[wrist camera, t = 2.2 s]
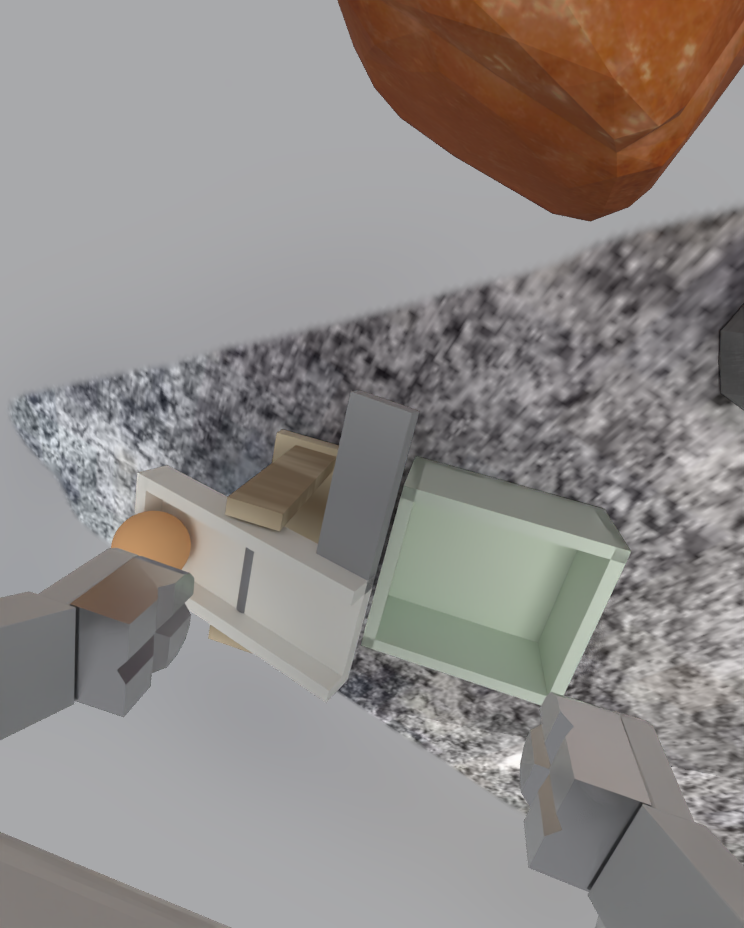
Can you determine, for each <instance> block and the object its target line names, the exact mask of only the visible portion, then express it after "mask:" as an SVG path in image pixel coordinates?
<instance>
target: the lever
mask: <svg viewBox="0 0 744 928" xmlns="http://www.w3.org/2000/svg"><path fill="white" fill-rule="evenodd" d="M418 415H419V411H418V410H415V409H412V408H409V407H407V406H404V405H401V404H398V403H395V402H392V401H389V400H387V399H384V398H381V397H378V396H375V395H372V394H369V393H367V392H364V391H361V390H358V391H351V392H350V397H349V401H348V406H347V411H346V415H345V420H344V425H343V429H342V434H341V439H340V443H339V448H338V453H337V457H336V462H335V467H334V471H333V476H332V481H331V486H330V490H329V495H328V500H327V504H326V509H325V514H324V518H323V523H322V528H321V532H320V537H319V542H318V544H317V543H315V542H313V541H311V540H310V539H308V538H306V537H304V536H302V535H300V534H298V533H296V532H294V531H292V530H290V529H288V528H287V527H285V526H284V527H283V528H282V529H281V531H277V530H273V529H270V528H267V527H264V526H261V525H257V524H254V523H251V522H248V521H245V520H241V519H238V518H235V517H232V516H228V515H225V511H226V504H227V496H225V495H223V494H221V493H219V492H217V491H216V490H214V489H212V488H210V487H208V486H206V485H204V484H202V483H200V482H198V481H196V480H194V479H193V478H191V477H189V476H187V475H185V474H183V473H181V472H179V471H177V470H175V469H173V468H171V467H170V466H168V465H166V466H162V467H158V468H154V469H150V470H146V471H141V472H137V486H136V502H135V515H136V514H138V513H142V512H145V511H162V512H166V513H169V514H171V515H173V516H175V517H176V518H178V519H179V520H180V521H181V522H182V523H183V524H184V526H185V527H186V529H187V530H188V533H189V536H190V540H191V550H190V555H189V558H188V560H187V562H186V564H185V565H184V567H183V568H182V569H181V570H183V571H186V572H189V573H191V574H192V576H193V577H194V591H193V595H192V596H191V597H190V598H189V599H188V600H187V601H186V602H185V604H186V606H187V608H188V610H190V611H191V612H193V613H194V614H196V615H197V616H199V617H200V618H202V619H203V620H204V621H206V622H207V623H209V624H210V625H212V626H213V627H215V628H216V629H218V630H219V631H221V632H222V633H224V634H225V635H227V636H228V637H229V638H231V639H232V640H234V641H235V642H237V643H238V644H240V645H241V646H243V647H244V648H246V649H247V650H249V651H250V652H252V653H253V654H255V655H256V656H258V657H259V658H261V659H262V660H263V661H265V662H266V663H268V664H269V665H271V666H272V667H274V668H275V669H277V670H278V671H280V672H281V673H283V674H284V675H286V676H287V677H288V678H290V679H291V680H293V681H294V682H296V683H297V684H299V685H300V686H302V687H303V688H305V689H306V690H308V691H309V692H311V693H312V694H314V695H315V696H317V697H318V698H319V699H321V700H323V701H324V702H325V703H327V702H328V700H330V698H331V697H332V696H333V695H334V694H335V693H336V692H337V691H338V690H339V689H340V688H341V686H342V685H343V684H344V683H345V682H346V681H347V680H348V677H349V673H350V669H351V666H352V662H353V658H354V654H355V651H356V647H357V643H358V639H359V636H360V632H361V628H362V624H363V621H364V617H365V613H366V610H367V606H368V602H369V598H370V595H371V591H372V587H373V583H374V580H375V576H376V572H377V568H378V565H379V561H380V557H381V553H382V550H383V546H384V542H385V538H386V535H387V531H388V527H389V524H390V520H391V516H392V512H393V509H394V505H395V501H396V497H397V494H398V490H399V486H400V482H401V479H402V475H403V471H404V467H405V464H406V460H407V456H408V452H409V449H410V445H411V441H412V438H413V434H414V430H415V426H416V423H417V419H418Z"/></svg>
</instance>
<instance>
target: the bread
mask: <svg viewBox="0 0 744 928" xmlns="http://www.w3.org/2000/svg"><path fill="white" fill-rule="evenodd" d="M338 3H339V6H340V8H341V11H342V14H343V17H344V20H345V23H346V26H347V29H348V31H349V34H350V37H351V40H352V43H353V46H354V48H355V50H356V52H357V54H358V56H359V58H360V60H361V62H362V64H363V66H364V68H365V70H366V72H367V74H368V76H369V78H370V80H371V82H372V84H373V86H374V88H375V89H376V90H377V91H378V92H379V93H380V95H381V96H382V97H383V98H384V99H385V100H386V102H387V103H388V104H389V105H390V106H391V107H392V109H393V110H394V111H395V112H396V113H397V114H398V116H399V117H400V118H402V119H403V120H404V121H406V122H407V123H408V124H410V125H411V126H413V127H414V128H416V129H417V130H418V131H420V132H421V133H422V134H424V135H425V136H427V137H428V138H429V139H431V140H432V141H434V142H435V143H436V144H438V145H439V146H440V147H442V148H443V149H445V150H446V151H448V152H449V153H450V154H452V155H453V156H455V157H456V158H458V159H460V160H462V161H463V162H465V163H467V164H468V165H470V166H472V167H474V168H475V169H477V170H479V171H480V172H482V173H484V174H486V175H487V176H489V177H491V178H493V179H494V180H496V181H498V182H499V183H501V184H503V185H504V186H506V187H508V188H510V189H511V190H513V191H515V192H516V193H518V194H520V195H521V196H523V197H525V198H527V199H528V200H530V201H532V202H534V203H535V204H537V205H539V206H540V207H542V208H544V209H546V210H547V211H549V212H551V213H552V214H557V215H562V216H567V217H572V218H576V219H581V220H586V221H593V220H595V219H598V218H601V217H603V216H606V215H609V214H612V213H614V212H617V211H620V210H622V209H625V208H628V207H629V206H631V205H632V204H633V203H634V202H635V201H637V200H638V199H639V198H640V197H641V196H642V195H644V194H645V193H646V192H647V191H648V190H650V189H651V188H652V186H653V185H654V184H655V182H656V181H657V180H658V178H659V177H660V176H661V175H662V173H663V172H664V171H665V169H666V168H667V167H668V165H669V164H670V163H671V161H672V160H673V159H674V158H675V156H676V155H677V153H678V152H679V151H680V150H681V148H682V147H683V146H684V144H685V143H686V142H687V140H688V139H689V138H690V137H691V135H692V134H693V133H694V131H695V130H696V129H697V127H698V126H699V125H700V123H701V122H702V121H703V119H704V118H705V117H706V116H707V114H708V113H709V111H710V110H711V109H712V107H713V106H714V105H715V103H716V102H717V101H718V99H719V98H720V96H721V95H722V94H723V92H724V91H725V90H726V88H727V87H728V86H729V84H730V83H731V81H732V80H733V79H734V77H735V76H736V74H737V73H738V72H739V70H740V69H741V68H742V66H743V65H744V0H338Z"/></svg>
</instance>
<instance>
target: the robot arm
mask: <svg viewBox="0 0 744 928" xmlns="http://www.w3.org/2000/svg"><path fill="white" fill-rule="evenodd" d="M193 591H194V577H193V576H192V574H191V573H189V572H186V571H183V570H180V569H177V568H174V567H172V566H169V565H166V564H163V563H160V562H157V561H155V560H152V559H149V558H146V557H143V556H139V555H137V554H134V553H131V552H128V551H125V550H122V549H119V548H109V549H107V550H105V551H104V552H102V553H101V554H99V555H98V556H96V557H94V558H93V559H91V560H90V561H88V562H87V563H85V564H84V565H82V566H81V567H79V568H78V569H76V570H75V571H73V572H71V573H70V574H68V575H67V576H65V577H64V578H62V579H60V580H59V581H57V582H56V583H54V584H53V585H51V586H50V587H48V588H47V589H45V590H43V591H42V592H41V593H39V594H35V593H32V592H24V593H20V594H15V595H11V596H6V597H1V598H0V740H2V739H4V738H6V737H8V736H10V735H11V734H14V733H16V732H18V731H20V730H22V729H24V728H26V727H28V726H30V725H32V724H34V723H36V722H38V721H40V720H42V719H44V718H47V717H49V716H50V715H53V714H55V713H57V712H59V711H61V710H63V709H65V708H67V707H69V706H71V705H73V704H74V701H77V702H80V703H83V704H86V705H89V706H92V707H95V708H98V709H101V710H104V711H107V712H110V713H113V714H116V715H119V716H122V717H124V716H125V715H126V714H127V713H128V712H129V711H130V709H131V708H132V707H133V706H134V705H135V704H136V703H137V701H138V700H139V699H140V698H141V697H142V696H143V694H144V693H145V692H146V691H147V690H148V689H149V688H150V686H151V676H152V673H154V672H156V671H159V670H161V669H164V668H166V667H167V666H168V665H169V664H170V663H171V662H172V661H173V659H174V658H175V657H176V655H177V654H178V652H179V650H180V648H181V646H182V645H183V643H184V641H185V639H186V635H187V633H188V629H189V625H190V617H191V614H190V612H189V610H188V608H187V606H186V604H185V602H186V601H187V600H188V599H189V598H190V597H191V596H192V595H193ZM540 716H541V722H542V724H541V725H539V726H537V727H535V728H533V729H531V730H530V732H529V734H528V737H527V739H526V742H525V744H524V748H523V753H522V758H521V763H520V785H521V793H522V795H523V796H524V798H525V799H526V801H527V803H528V804H529V806H530V809H529V811H528V813H527V815H526V817H525V819H524V828H525V838H526V847H527V857H528V867H529V868H531V869H533V870H536V871H538V872H541V873H543V874H546V875H548V876H550V877H553V878H555V879H558V880H560V881H563V882H565V883H568V884H570V885H573V886H575V887H578V888H580V889H583V890H585V891H588V892H589V893H588V897H589V899H590V900H591V902H592V904H593V906H594V908H595V909H596V911H597V913H598V915H599V916H598V919H597V923H596V927H595V928H744V866H743V865H742V864H741V863H740V862H739V861H738V860H737V859H736V858H735V856H734V855H733V854H732V853H731V852H730V851H729V850H728V849H727V848H726V847H725V846H724V845H723V844H722V843H721V842H720V841H719V839H718V838H717V837H716V836H715V835H714V834H713V833H712V832H711V831H710V830H709V829H708V828H707V827H706V826H704V825H702V824H699V823H696V822H694V820H693V817H692V815H691V813H690V810H689V808H688V806H687V804H686V801H685V799H684V797H683V794H682V792H681V790H680V787H679V785H678V783H677V780H676V778H675V776H674V773H673V771H672V769H671V766H670V764H669V762H668V760H667V757H666V755H665V753H664V750H663V748H662V746H661V743H660V741H659V739H658V736H657V734H656V732H655V729H654V728H653V726H652V725H651V724H650V723H649V722H648V721H646V720H643V719H639V718H636V717H633V716H629V715H626V714H623V713H619V712H616V711H614V712H612V711H610V710H607V709H603V708H600V707H597V706H594V705H591V704H588V703H585V702H582V701H579V700H575V699H572V698H569V697H566V696H563V695H560V694H557V693H554V692H550V693H549V694H548V695H547V696H546V697H545V699H544V701H543V703H542V705H541V707H540ZM0 928H231V927H228V926H226V925H224V924H221V923H218V922H216V921H214V920H211V919H209V918H207V917H204V916H202V915H199V914H197V913H194V912H192V911H190V910H187V909H185V908H182V907H180V906H177V905H175V904H172V903H170V902H168V901H165V900H163V899H161V898H158V897H156V896H153V895H151V894H149V893H146V892H144V891H141V890H139V889H136V888H134V887H132V886H129V885H127V884H124V883H122V882H120V881H117V880H115V879H112V878H110V877H107V876H105V875H103V874H100V873H98V872H95V871H93V870H90V869H88V868H86V867H83V866H81V865H78V864H76V863H74V862H71V861H69V860H66V859H64V858H62V857H59V856H57V855H54V854H52V853H50V852H47V851H45V850H42V849H40V848H38V847H35V846H33V845H30V844H28V843H26V842H23V841H21V840H18V839H16V838H13V837H11V836H8V835H6V834H4V833H1V832H0Z"/></svg>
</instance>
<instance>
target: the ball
mask: <svg viewBox="0 0 744 928" xmlns="http://www.w3.org/2000/svg"><path fill="white" fill-rule="evenodd" d="M111 548H119V549H122V550H125V551H128V552H131V553H134V554H137V555H139V556H143V557H146V558H149V559H152V560H155V561H157V562H160V563H163V564H166V565H169V566H172V567H174V568H177V569H180V570H181V569H182V568H183V567H184V565H185V564H186V562H187V560H188V558H189V555H190V550H191V540H190V536H189V533H188V530H187V529H186V527H185V526H184V524H183V523H182V522H181V521H180V520H179V519H178V518H176V517H175V516H173V515H171V514H169V513H166V512H162V511H145V512H142V513H138V514H136V515H134V516H132V517H130V518H129V519H127V520H126V521H125V522H124V523H123V524H122V525H121V526H120V527H119V528H118V530H117V531H116V533H115V535H114V538H113V540H112V545H111Z"/></svg>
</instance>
